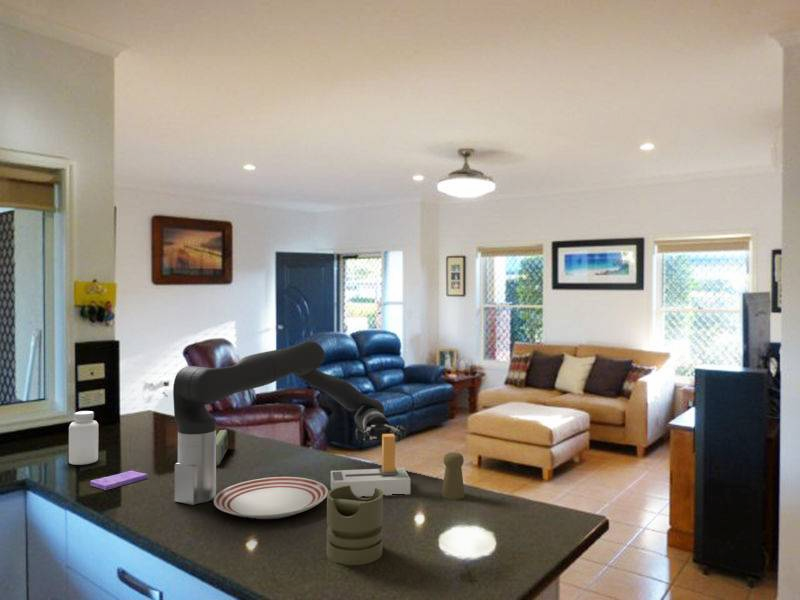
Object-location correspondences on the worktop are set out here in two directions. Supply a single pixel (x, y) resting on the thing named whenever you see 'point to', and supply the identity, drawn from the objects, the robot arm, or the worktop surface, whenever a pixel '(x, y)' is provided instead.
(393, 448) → the handle
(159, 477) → the worktop surface
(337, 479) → the box
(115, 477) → the sponges
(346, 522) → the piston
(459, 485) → the olive pawn figure
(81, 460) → the pill bottle
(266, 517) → the dinner plate
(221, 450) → the handheld radio
